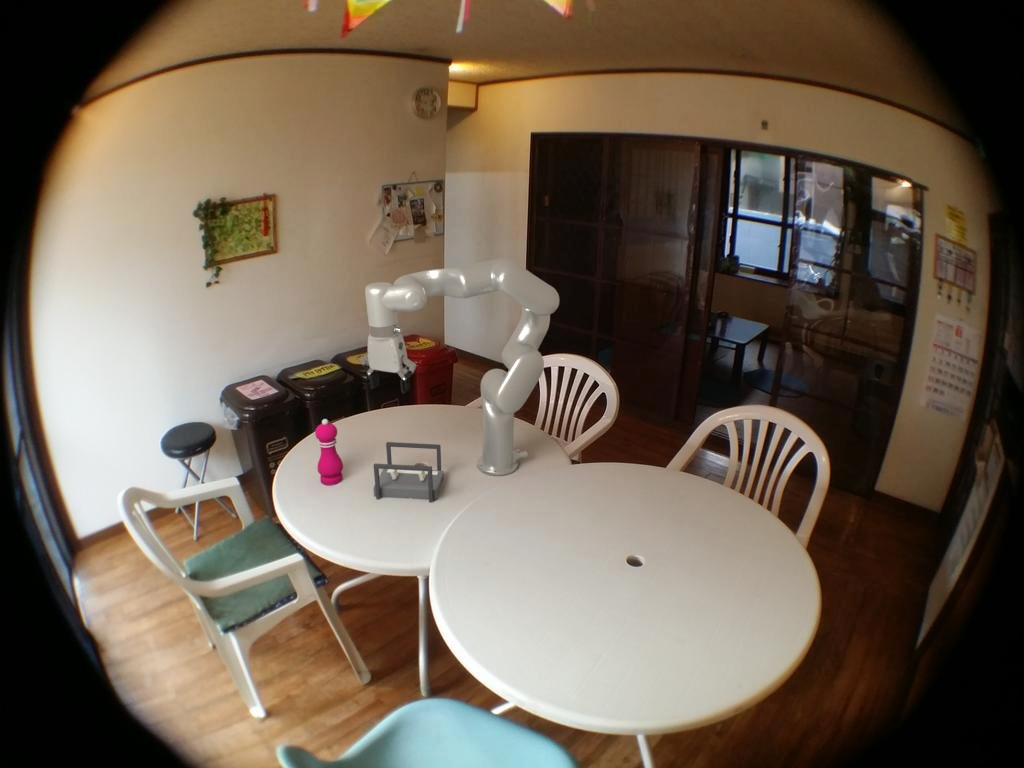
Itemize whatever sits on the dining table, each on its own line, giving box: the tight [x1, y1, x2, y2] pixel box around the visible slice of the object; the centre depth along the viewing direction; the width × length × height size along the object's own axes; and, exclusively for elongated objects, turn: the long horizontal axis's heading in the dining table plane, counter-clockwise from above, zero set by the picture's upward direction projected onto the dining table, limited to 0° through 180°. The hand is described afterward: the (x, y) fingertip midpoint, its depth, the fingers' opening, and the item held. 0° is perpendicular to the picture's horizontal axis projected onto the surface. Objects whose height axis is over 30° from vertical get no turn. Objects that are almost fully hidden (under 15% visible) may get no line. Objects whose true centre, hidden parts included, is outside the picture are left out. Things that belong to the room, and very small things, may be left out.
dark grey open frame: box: [373, 441, 442, 503], centre depth 163 cm, size 16×14×11 cm
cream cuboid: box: [418, 471, 426, 481], centre depth 163 cm, size 1×3×2 cm, turn 174°
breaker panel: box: [372, 469, 445, 501], centre depth 165 cm, size 18×11×3 cm, turn 86°
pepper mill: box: [314, 418, 344, 486], centre depth 164 cm, size 7×7×20 cm
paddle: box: [390, 469, 398, 479], centre depth 164 cm, size 1×3×2 cm, turn 174°
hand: (390, 389), depth 157 cm, fingers open, 9 cm apart
